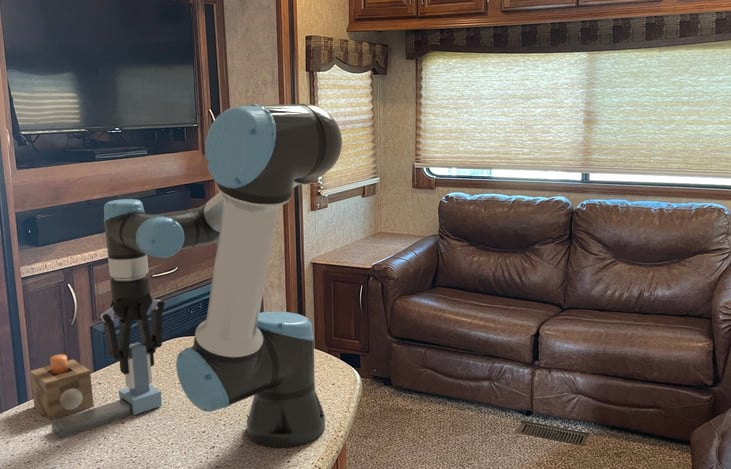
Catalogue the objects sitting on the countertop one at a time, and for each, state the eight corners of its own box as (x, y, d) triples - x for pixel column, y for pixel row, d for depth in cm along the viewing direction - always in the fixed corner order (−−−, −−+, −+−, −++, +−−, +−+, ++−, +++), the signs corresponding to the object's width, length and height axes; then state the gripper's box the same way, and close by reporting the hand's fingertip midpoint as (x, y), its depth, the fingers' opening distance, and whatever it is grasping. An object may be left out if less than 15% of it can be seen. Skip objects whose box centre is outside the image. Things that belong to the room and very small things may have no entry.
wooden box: (94, 406, 146) (91, 371, 145) (51, 421, 140) (46, 384, 139) (76, 393, 153) (73, 359, 152) (34, 406, 147) (30, 370, 146)
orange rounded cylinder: (70, 371, 145) (69, 357, 145) (55, 375, 143) (53, 361, 143) (64, 367, 148) (63, 353, 147) (49, 371, 146) (47, 357, 145)
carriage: (162, 405, 146) (157, 346, 143) (135, 415, 142) (129, 354, 139) (146, 395, 151) (141, 338, 148) (119, 404, 147) (114, 345, 144)
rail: (160, 404, 147) (160, 395, 147) (60, 438, 133) (58, 429, 133) (152, 398, 150) (151, 389, 150) (52, 431, 136) (51, 422, 135)
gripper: (157, 265, 149) (165, 368, 153) (82, 280, 138) (93, 390, 142) (174, 271, 143) (182, 378, 148) (98, 287, 132) (109, 401, 137)
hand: (139, 384), depth 145 cm, fingers closed on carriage, 3 cm apart
